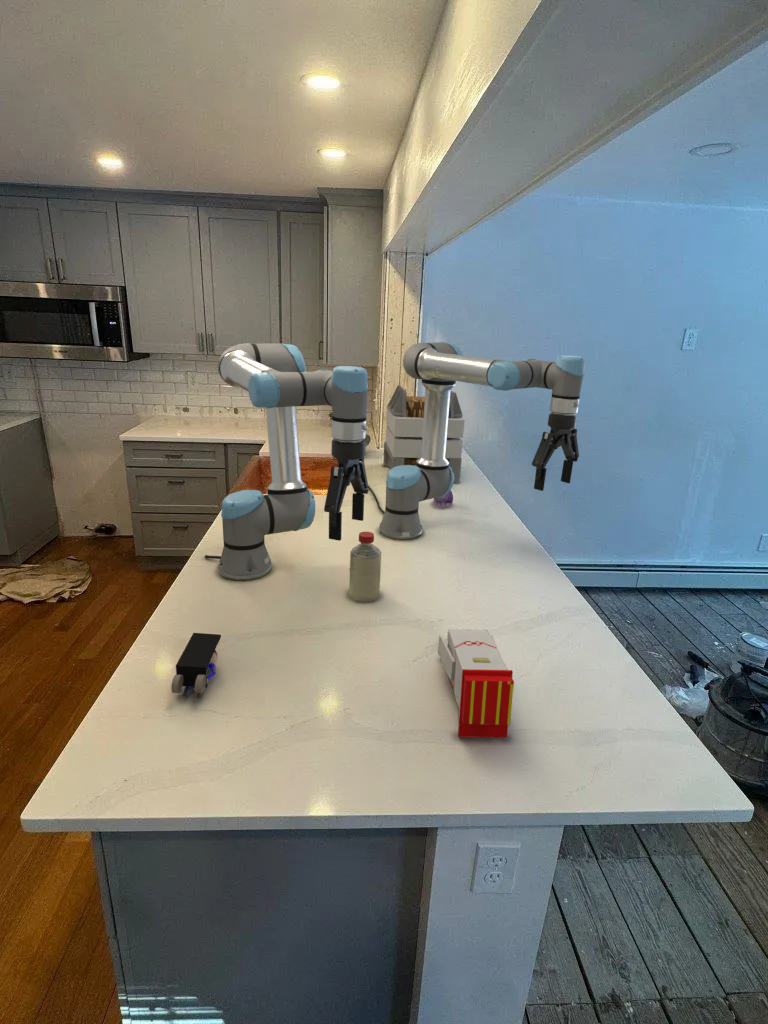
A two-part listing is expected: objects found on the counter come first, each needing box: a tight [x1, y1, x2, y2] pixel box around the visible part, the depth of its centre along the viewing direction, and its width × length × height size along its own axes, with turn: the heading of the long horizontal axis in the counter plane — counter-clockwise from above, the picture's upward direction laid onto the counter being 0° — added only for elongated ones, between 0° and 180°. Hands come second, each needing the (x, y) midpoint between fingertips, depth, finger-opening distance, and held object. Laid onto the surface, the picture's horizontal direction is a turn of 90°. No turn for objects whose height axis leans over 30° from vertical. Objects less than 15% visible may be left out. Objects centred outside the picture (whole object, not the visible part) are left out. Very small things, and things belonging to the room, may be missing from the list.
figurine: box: [432, 489, 454, 509], centre depth 228 cm, size 9×10×15 cm
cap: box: [358, 531, 375, 544], centre depth 151 cm, size 4×4×2 cm
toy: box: [437, 628, 515, 738], centre depth 117 cm, size 12×13×30 cm
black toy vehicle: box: [170, 632, 222, 699], centre depth 117 cm, size 7×8×15 cm
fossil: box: [363, 433, 372, 447], centre depth 305 cm, size 22×10×15 cm
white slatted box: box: [383, 384, 465, 484], centre depth 268 cm, size 34×33×41 cm
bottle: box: [348, 542, 382, 603], centre depth 154 cm, size 8×8×18 cm
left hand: (346, 529), depth 132 cm, fingers open, 13 cm apart
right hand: (552, 485), depth 166 cm, fingers open, 13 cm apart
